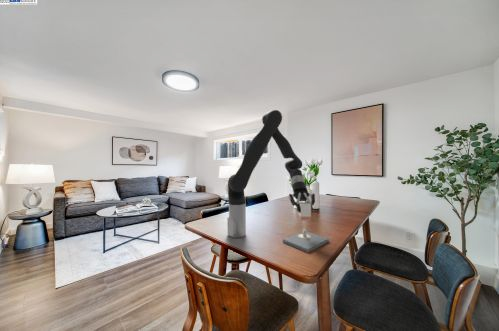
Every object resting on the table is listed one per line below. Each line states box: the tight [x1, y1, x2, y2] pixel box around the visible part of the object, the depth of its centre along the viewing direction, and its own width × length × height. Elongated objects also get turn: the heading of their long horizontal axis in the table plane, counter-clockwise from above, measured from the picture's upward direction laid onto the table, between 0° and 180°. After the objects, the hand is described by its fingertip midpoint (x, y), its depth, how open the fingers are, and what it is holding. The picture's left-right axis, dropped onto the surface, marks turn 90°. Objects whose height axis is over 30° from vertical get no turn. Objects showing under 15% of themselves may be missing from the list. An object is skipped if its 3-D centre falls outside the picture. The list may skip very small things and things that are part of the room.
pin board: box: [282, 228, 330, 253], centre depth 89 cm, size 18×14×5 cm
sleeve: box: [297, 201, 312, 221], centre depth 92 cm, size 5×5×8 cm
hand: (305, 211), depth 90 cm, fingers closed on sleeve, 5 cm apart
